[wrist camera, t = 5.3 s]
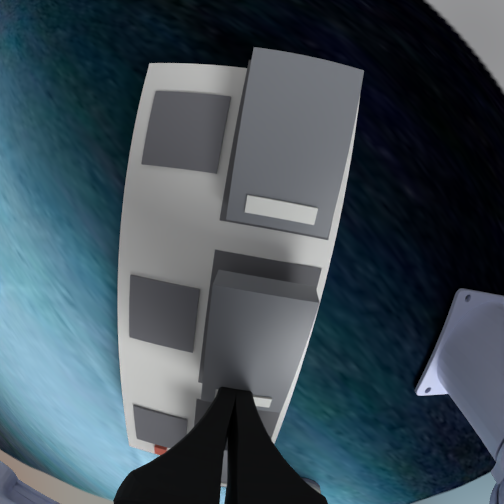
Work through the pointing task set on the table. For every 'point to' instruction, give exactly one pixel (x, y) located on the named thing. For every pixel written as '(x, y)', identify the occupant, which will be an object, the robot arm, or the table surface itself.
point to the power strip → (191, 246)
